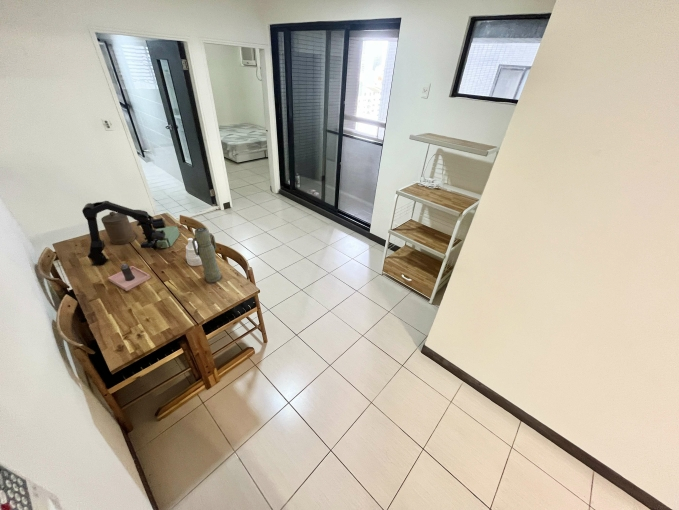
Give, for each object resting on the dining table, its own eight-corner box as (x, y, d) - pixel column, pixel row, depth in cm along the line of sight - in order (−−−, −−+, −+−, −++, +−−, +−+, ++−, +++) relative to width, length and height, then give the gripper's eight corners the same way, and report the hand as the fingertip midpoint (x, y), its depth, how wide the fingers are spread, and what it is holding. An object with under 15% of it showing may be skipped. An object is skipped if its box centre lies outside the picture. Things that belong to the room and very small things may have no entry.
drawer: (165, 250, 190) (163, 244, 187) (148, 251, 189) (145, 244, 186) (176, 235, 207) (174, 229, 204) (160, 236, 206) (158, 229, 203)
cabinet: (170, 246, 196) (167, 238, 192) (152, 246, 195) (148, 238, 191) (179, 234, 211) (177, 226, 207) (162, 234, 209) (159, 226, 205)
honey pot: (203, 266, 180) (197, 243, 170) (183, 265, 179) (176, 242, 169) (211, 255, 190) (205, 233, 180) (192, 254, 190) (186, 232, 180)
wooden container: (133, 232, 209) (122, 205, 197) (138, 240, 201) (126, 213, 188) (109, 238, 201) (96, 211, 188) (113, 247, 192) (99, 219, 180)
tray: (109, 280, 163) (107, 277, 162) (134, 268, 174) (132, 265, 172) (126, 291, 157) (125, 287, 155) (150, 277, 167) (149, 274, 166)
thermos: (226, 276, 172) (215, 228, 153) (208, 286, 164) (194, 236, 145) (218, 271, 177) (206, 223, 157) (200, 279, 169) (186, 230, 149)
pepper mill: (124, 278, 165) (117, 263, 159) (134, 275, 168) (127, 260, 162) (126, 282, 162) (118, 267, 156) (135, 279, 165) (128, 264, 159)
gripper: (155, 237, 172) (162, 257, 181) (166, 223, 188) (173, 242, 197) (135, 237, 171) (144, 257, 180) (149, 223, 186) (156, 242, 195)
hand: (155, 249), depth 188 cm, fingers closed
